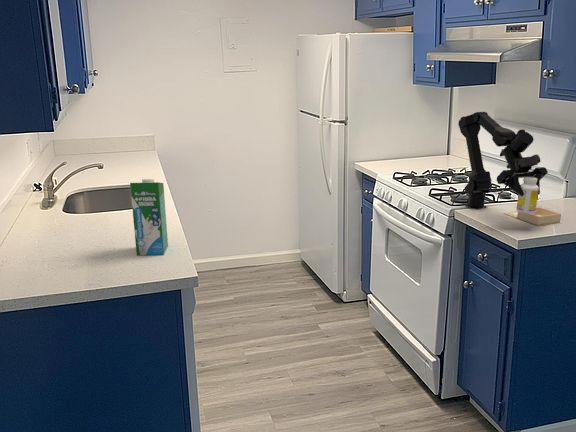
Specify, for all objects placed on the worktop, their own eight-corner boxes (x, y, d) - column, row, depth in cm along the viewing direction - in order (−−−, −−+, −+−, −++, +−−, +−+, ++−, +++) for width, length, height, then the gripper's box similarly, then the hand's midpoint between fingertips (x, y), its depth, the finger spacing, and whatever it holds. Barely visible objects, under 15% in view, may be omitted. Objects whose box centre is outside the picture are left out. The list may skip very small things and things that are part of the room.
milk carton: (168, 246, 204) (163, 176, 197) (163, 255, 195) (158, 182, 188) (142, 246, 203) (136, 176, 196) (136, 255, 195) (129, 182, 188)
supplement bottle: (535, 211, 218) (541, 177, 214) (534, 215, 212) (540, 180, 209) (516, 208, 221) (521, 175, 217) (515, 212, 215) (520, 178, 211)
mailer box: (503, 213, 237) (504, 205, 236) (525, 210, 241) (525, 202, 240) (538, 225, 221) (539, 217, 220) (560, 222, 225) (561, 213, 224)
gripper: (504, 148, 211) (521, 185, 204) (547, 145, 216) (565, 181, 209) (489, 165, 220) (504, 201, 213) (531, 162, 225) (547, 197, 219)
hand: (530, 195), depth 213 cm, fingers closed on supplement bottle, 7 cm apart
